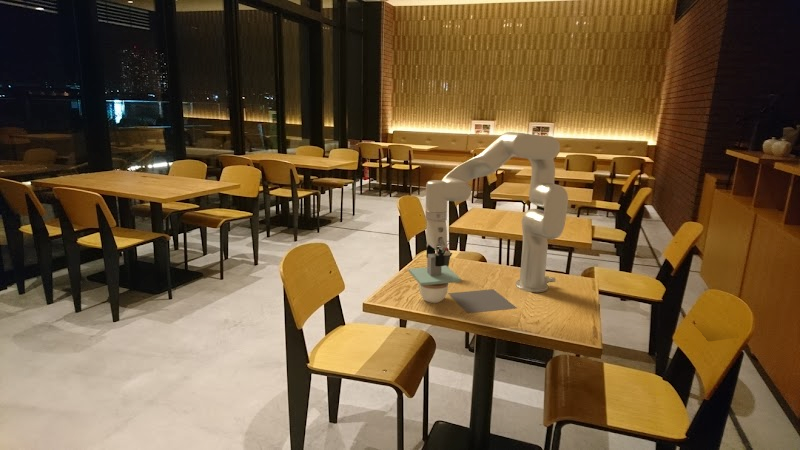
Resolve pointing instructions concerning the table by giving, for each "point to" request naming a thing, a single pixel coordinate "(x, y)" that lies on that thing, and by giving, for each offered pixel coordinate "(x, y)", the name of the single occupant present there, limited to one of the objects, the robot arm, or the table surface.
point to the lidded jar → (433, 292)
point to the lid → (433, 273)
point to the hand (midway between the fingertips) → (435, 261)
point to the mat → (481, 301)
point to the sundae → (447, 256)
